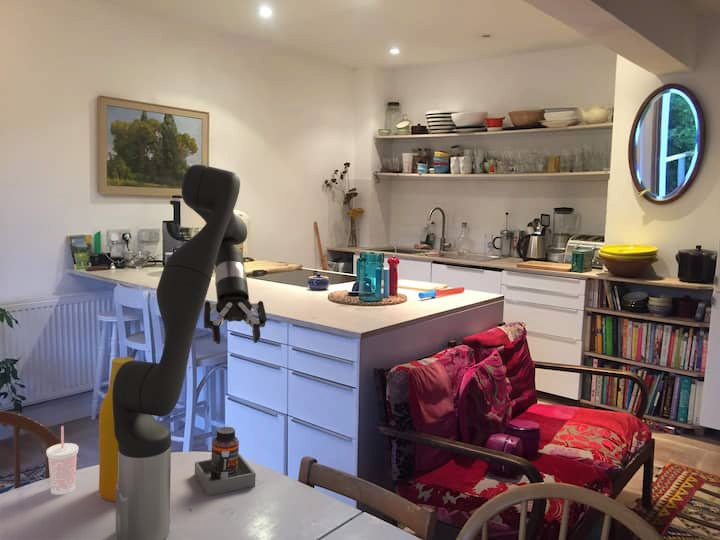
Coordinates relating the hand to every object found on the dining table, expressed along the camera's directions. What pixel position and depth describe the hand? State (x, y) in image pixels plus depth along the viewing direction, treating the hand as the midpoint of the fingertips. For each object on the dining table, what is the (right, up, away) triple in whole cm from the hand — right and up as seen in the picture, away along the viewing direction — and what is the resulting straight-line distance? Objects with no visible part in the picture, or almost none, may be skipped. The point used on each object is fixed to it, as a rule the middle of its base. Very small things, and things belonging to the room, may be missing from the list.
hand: (237, 341), depth 137 cm
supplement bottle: (-3, -31, -2) cm, 31 cm away
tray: (-3, -31, -2) cm, 31 cm away
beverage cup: (-35, -30, -10) cm, 47 cm away
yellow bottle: (-23, -31, -9) cm, 40 cm away
